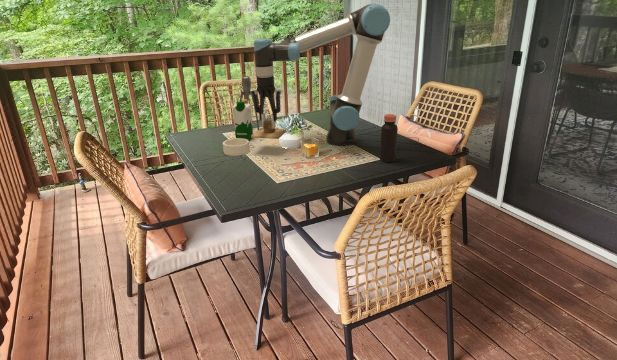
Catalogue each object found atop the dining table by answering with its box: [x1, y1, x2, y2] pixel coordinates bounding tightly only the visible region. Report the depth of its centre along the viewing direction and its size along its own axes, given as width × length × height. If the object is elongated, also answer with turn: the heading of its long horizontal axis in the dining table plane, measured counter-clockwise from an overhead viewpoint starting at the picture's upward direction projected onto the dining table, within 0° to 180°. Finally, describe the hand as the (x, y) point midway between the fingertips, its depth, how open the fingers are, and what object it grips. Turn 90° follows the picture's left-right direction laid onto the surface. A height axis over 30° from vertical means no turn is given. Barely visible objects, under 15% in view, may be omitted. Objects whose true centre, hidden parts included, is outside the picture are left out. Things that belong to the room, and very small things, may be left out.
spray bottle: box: [239, 75, 260, 131], centre depth 222 cm, size 10×11×30 cm
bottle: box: [379, 113, 399, 163], centre depth 179 cm, size 7×7×20 cm
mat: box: [248, 144, 288, 158], centre depth 196 cm, size 15×15×1 cm
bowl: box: [222, 137, 251, 157], centre depth 195 cm, size 12×12×5 cm
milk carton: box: [232, 100, 254, 142], centre depth 210 cm, size 9×9×20 cm
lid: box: [251, 119, 287, 140], centre depth 192 cm, size 13×13×6 cm
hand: (269, 127), depth 192 cm, fingers closed on lid, 4 cm apart
